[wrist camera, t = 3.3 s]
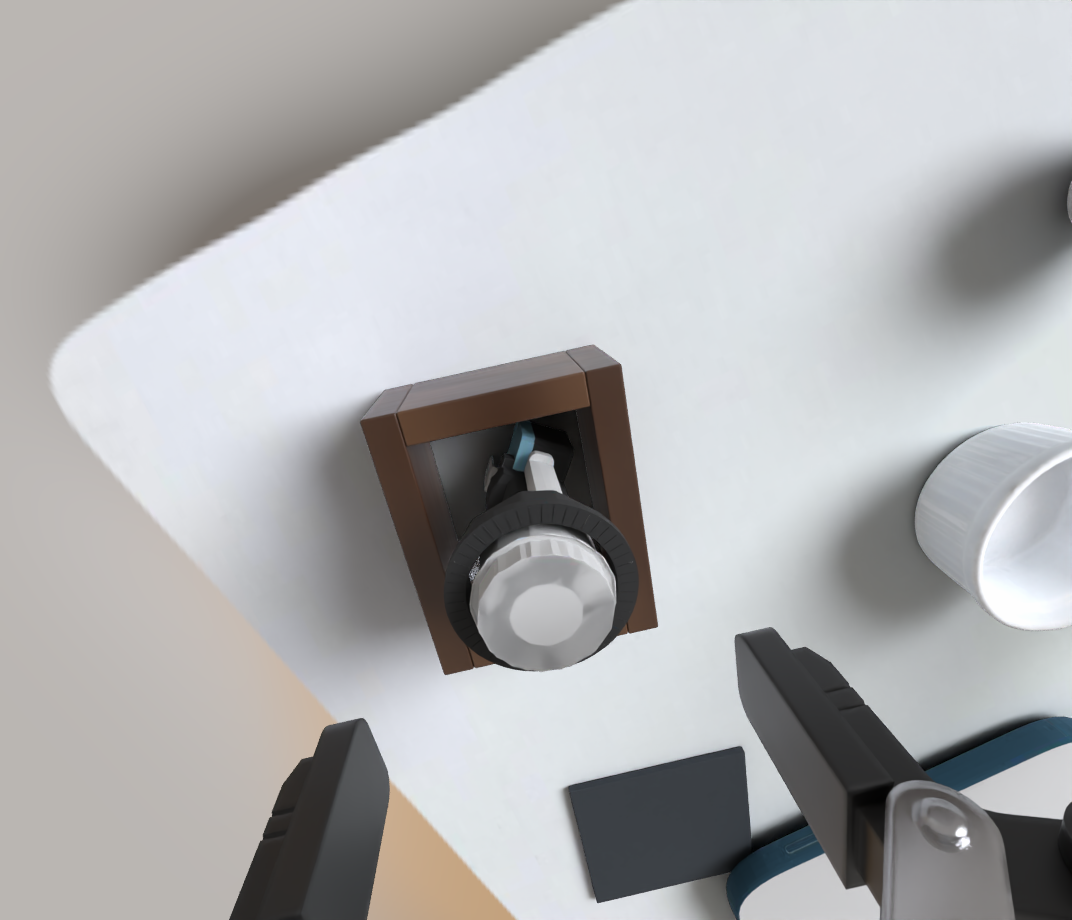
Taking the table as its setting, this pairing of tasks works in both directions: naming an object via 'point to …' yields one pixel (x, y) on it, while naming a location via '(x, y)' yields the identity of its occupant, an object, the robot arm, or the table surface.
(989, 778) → the external hard drive
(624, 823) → the mat
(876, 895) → the robot arm
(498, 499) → the push button
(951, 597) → the table surface
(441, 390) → the holder
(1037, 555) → the ramekin
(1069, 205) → the frog figurine
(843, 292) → the table surface
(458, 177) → the table surface
